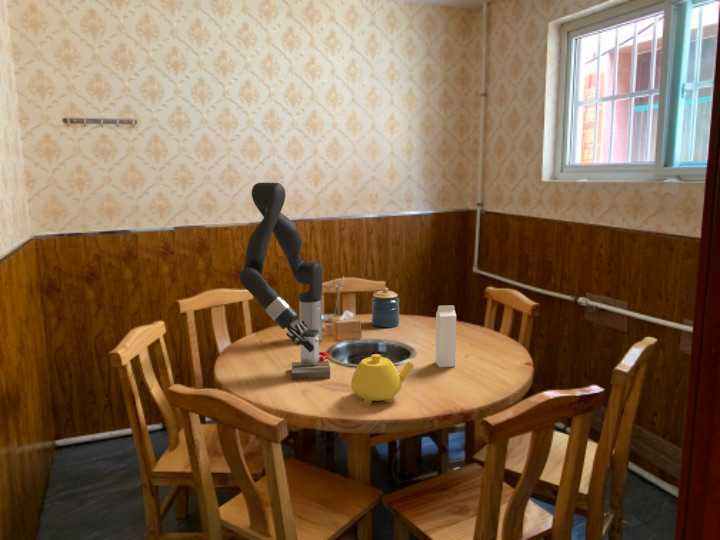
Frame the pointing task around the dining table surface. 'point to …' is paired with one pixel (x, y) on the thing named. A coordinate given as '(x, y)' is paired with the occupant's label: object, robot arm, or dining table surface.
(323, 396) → the dining table surface
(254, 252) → the robot arm
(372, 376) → the teapot
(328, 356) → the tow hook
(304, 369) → the coupler plate
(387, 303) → the canister
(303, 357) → the grey rectangular container
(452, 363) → the milk
